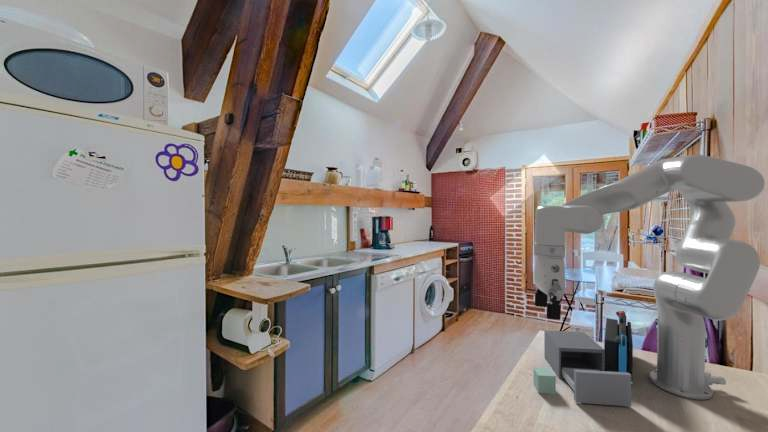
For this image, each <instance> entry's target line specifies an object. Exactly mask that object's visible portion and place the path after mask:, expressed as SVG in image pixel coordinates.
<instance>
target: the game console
mask: <svg viewBox="0 0 768 432" xmlns="http://www.w3.org/2000/svg"><path fill="white" fill-rule="evenodd" d="M615 314H616V316H617V317H618V319H616V318H615V319H614V318H607V317H606V320H605V321H606V322H605V331H604V340H603V342H604V345H603V346H604V347H603V349H604V371H609V372H626V373H629V374H631V388H632V387H633V362H634V361H633V359H634V357H633V355H634V354H633V353H634V350H633V349H634V346H633V345H634V343H633V333H632V322H631V321H627V315H626V312H625V311H624V310H619V311H616V312H615Z"/></svg>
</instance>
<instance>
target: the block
mask: <svg viewBox="0 0 768 432" xmlns="http://www.w3.org/2000/svg"><path fill="white" fill-rule="evenodd" d="M532 368H533V371H532V372H533V373H532V375H533V376H532V377H533V386H534V388H535V390H536V392H537V394H546V395H556V393H557V392H556V381H557V380H556V378H557V377H556V376H557V375H556V374H555V372H554V371H553V369H552V368H549V367H534V366H533V367H532Z"/></svg>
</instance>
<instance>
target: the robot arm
mask: <svg viewBox="0 0 768 432" xmlns="http://www.w3.org/2000/svg"><path fill="white" fill-rule="evenodd" d="M764 188H765V179H764V176H763V174H762V173H760V171H759V170H757V169H756V168H754V167H752V166H749V165H745V164H741V163H739V162H738V163H737V162H733V161H729V160H725V159H723V158H722V159H721V158H718V157H713V156H708V155H704V154H688V155H682V156H676V157H669V158H663V159H661V160H660V159H659V160H657V161H655V162H653V163H651V164H648V165H647V166H645V167H642V168H641V169H639V170H637V171H635V172H633V173H631V174H630V175H627V176H625V177H624V178H622V179H619V180H617V181H615V182H612V183H610V184H606V185H604V186H602V187H600V188H596V189H593V190H590V191H589V192H587V193H584V194H581V195H579V196H576V197H575V198H573V199H570V200H568V201H567V202H565V203H563V204H561V205H540V206H537V208H536V209H535V213H534V214H535V217H534V219H535V221H534V245H533V256H535V257H536V258H535V267H534V269H535V270H534V285H535V288H534V291H535V292H534V306H535V307H539V308H546V318H547V319H548V320H558V321H559V320H561V312H562V304H563V303H562V301H563V296H565V294H566V271H565V270H566V269H565V266H566V265H565V260H564V259H565V258H566V239H567V238H566V237H567V233H574V234H575V233H576V234H583V235H590V234H592V233H595V232H597V231H599V230H600V229H601V228H602V227H603V225H604V223H605V222H604V221H605V220H604V219H605V218H604V215H607V214H614V213H620V212H621V213H622V212H627V211H631V210H635V209H638V208H640V207H643V206H644V205H646V204H648V203H650V202H651V201H654V200H655V199H658V198H660V197H661V196H664V195H666V194H669V193H670V192H673V191H676V190H677V191H678V190H679V193H680V194H681V197H683V199H684V201H686V203H687V205H688V208H689V211H690V217H689V218H690V219H689V221H688V224H687V227H686V228H685V230H684V233H683V235H682V237H681V239H680V241H679V244H678V246H677V248H676V251H675V258H674V259H675V261H676V262H677V264H679V265H680V266H682V267H683V268H685V269H689V270H691V271H696V272H699V273H703V274H707V276H706V277H703V276H701V275H700V276H699V275H695V274H691V273H688V272H687V273H686V272H683V271H675V270H674V271H667V272H666V271H665V272H663V273H661V274H659V275H658V276H657V277H656V278H655V279H654V282H653V295H654V298H655V303H656V309H657V310H656V311H657V332H656V333H657V338H656V339H657V340H656V341H657V343H656V348H657V349H656V369H655V370H652V371H650V372H649V379H650V381H651V382H652V383H653V384H654V385H655V386H657V387H658V388H660V389H662V390H664V391H666V392H668V393H671V394H674V395H676V396H680V397H683V398H687V399H692V400H699V401H700V400H708V399H711V398H712V397H713V395H714V393H713V392H714V391H713V389H712V387H710V386H712V385H724V386H725V385H727V381H726V379H725V378H724V377H723V376H717V375H716V376H715V375H713V376H712V373H710V372H706V369H705V368H706V335H707V330H706V329H707V328H706V323H705V320H704V318H707V319H709V320H713V321H719V322H720V321H727V320H730V319H732V318H733V317H735V316H736V315H737V314H738V312H740V310H741V308H742V307H743V305H744V302H745V301H746V298H747V296H748V295H749V292H750V290H751V289H752V286H753V284H754V282H755V279H756V278H757V275H758V273H759V270H760V267H761V266H760V265H761V264H760V263H761V261H760V255H759V253H758V251H757V250H756V248H755V247H753V245H751V244H749V243H748V242H745V241H742V240H736V239H731V237H732V234H733V232H734V229H735V226H736V217H735V215H734V211H733V210H732V209H731V208H730V206H729V205H728V203H729V202H737V203H738V202H746V201H749V200H752V199H755V198H756V197H758V196H759V195H760V194H761V193H762V192H763V190H764Z"/></svg>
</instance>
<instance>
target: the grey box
mask: <svg viewBox="0 0 768 432" xmlns="http://www.w3.org/2000/svg"><path fill="white" fill-rule="evenodd" d="M543 336H544V343H543V345H544V346H543V347H544V350H543V351H544V356H543V357H544V359H545V360H547V361H546V363H548V364H550V365H549V366H550V367H552V368H551V370H552V371H553V373H554V374H555V376H557V377H558V379H563V380H565V378H564V377H563V375H562V374H561V367H564V368H581V369H599V370H600V371H604V347H602V346H601V345H599V343H597V342H596V341H595V340H593V338H591V337H590V336H589V334H587V333H586V332H584V331H567V330H566V331H564V330H544V335H543Z"/></svg>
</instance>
